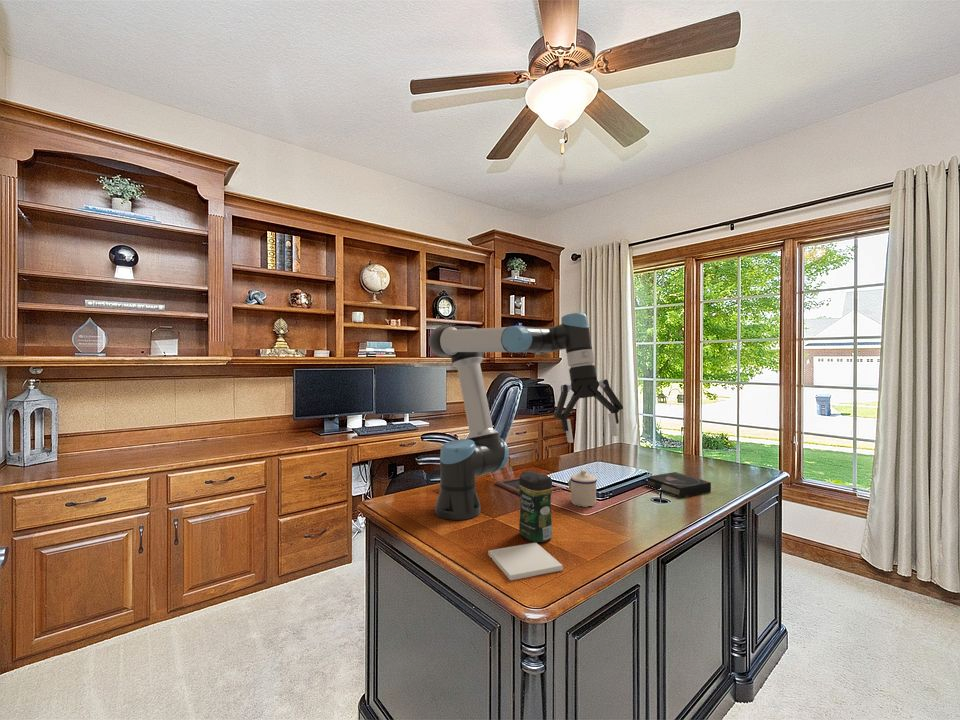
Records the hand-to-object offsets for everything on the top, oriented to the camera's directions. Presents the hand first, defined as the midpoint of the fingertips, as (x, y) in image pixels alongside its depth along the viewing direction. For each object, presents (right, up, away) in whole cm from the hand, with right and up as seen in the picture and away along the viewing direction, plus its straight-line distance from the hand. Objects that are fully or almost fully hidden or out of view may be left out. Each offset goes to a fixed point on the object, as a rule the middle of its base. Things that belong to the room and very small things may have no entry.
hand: (593, 439), depth 127 cm
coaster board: (-21, -29, -14) cm, 39 cm away
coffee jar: (-16, -29, +1) cm, 33 cm away
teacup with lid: (+3, -28, +31) cm, 42 cm away
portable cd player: (+45, -28, +46) cm, 70 cm away
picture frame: (-10, -29, +50) cm, 59 cm away
